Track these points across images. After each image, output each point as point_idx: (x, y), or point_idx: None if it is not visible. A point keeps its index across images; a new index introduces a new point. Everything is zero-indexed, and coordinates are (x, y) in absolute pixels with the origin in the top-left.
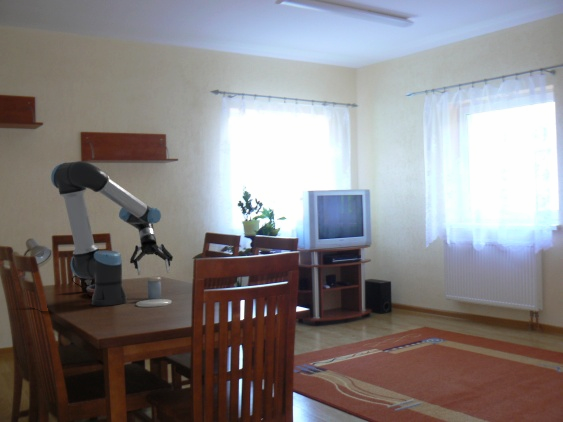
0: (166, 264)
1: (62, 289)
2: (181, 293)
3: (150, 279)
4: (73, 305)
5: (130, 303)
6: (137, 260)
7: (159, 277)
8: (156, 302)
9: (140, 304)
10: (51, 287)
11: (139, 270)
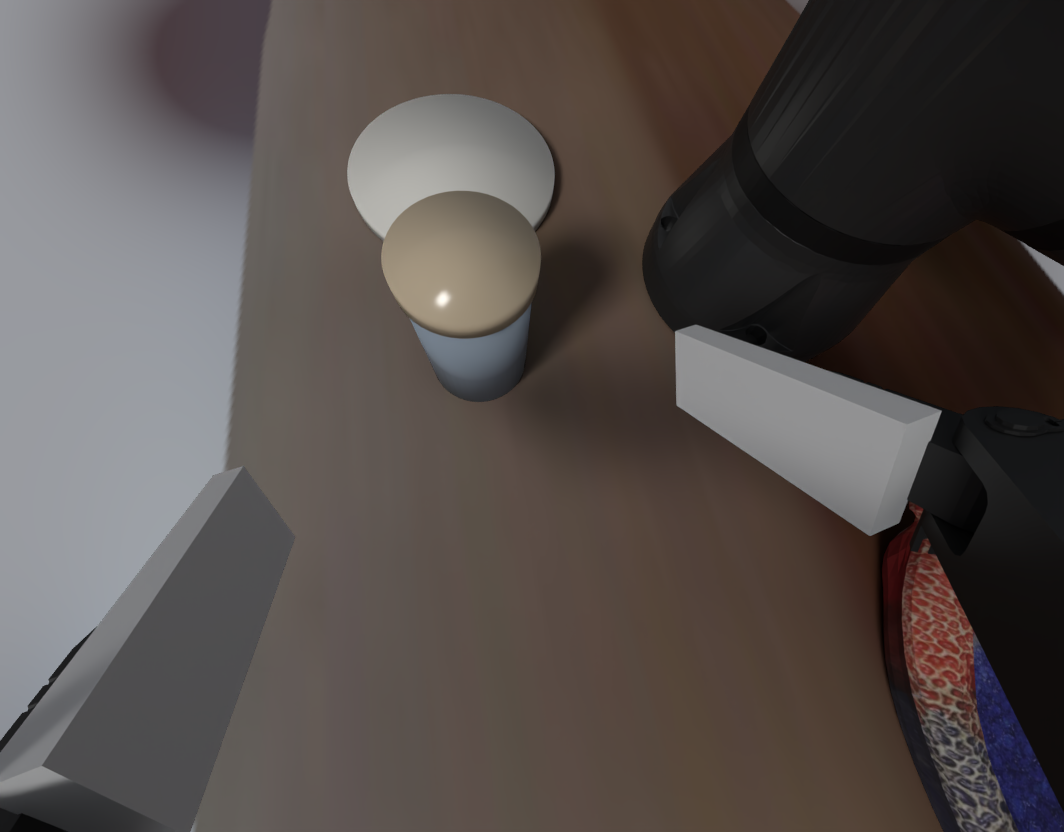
0: (190, 590)
1: None
2: (273, 653)
3: (491, 203)
4: (930, 261)
5: (606, 241)
6: (999, 539)
7: (399, 258)
8: (435, 145)
9: (517, 114)
10: None
11: (696, 331)
